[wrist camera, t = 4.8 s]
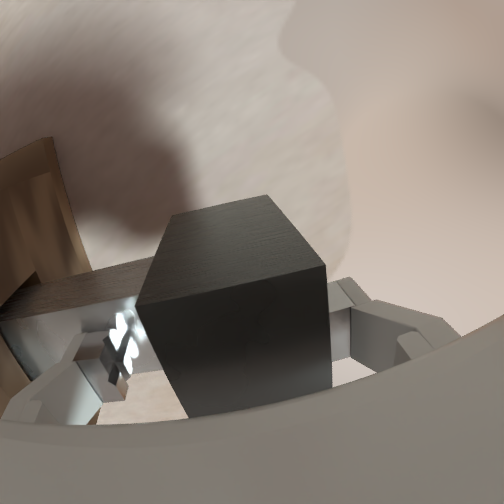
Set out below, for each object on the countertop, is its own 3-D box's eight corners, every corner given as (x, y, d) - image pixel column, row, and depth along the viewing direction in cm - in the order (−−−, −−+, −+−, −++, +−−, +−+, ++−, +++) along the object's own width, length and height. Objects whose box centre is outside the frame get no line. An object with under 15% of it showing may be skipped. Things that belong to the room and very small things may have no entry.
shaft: (-51, 283, 12) (-114, 345, 5) (267, 194, 13) (325, 264, 6) (-17, 349, 14) (-63, 419, 7) (284, 298, 15) (332, 411, 8)
